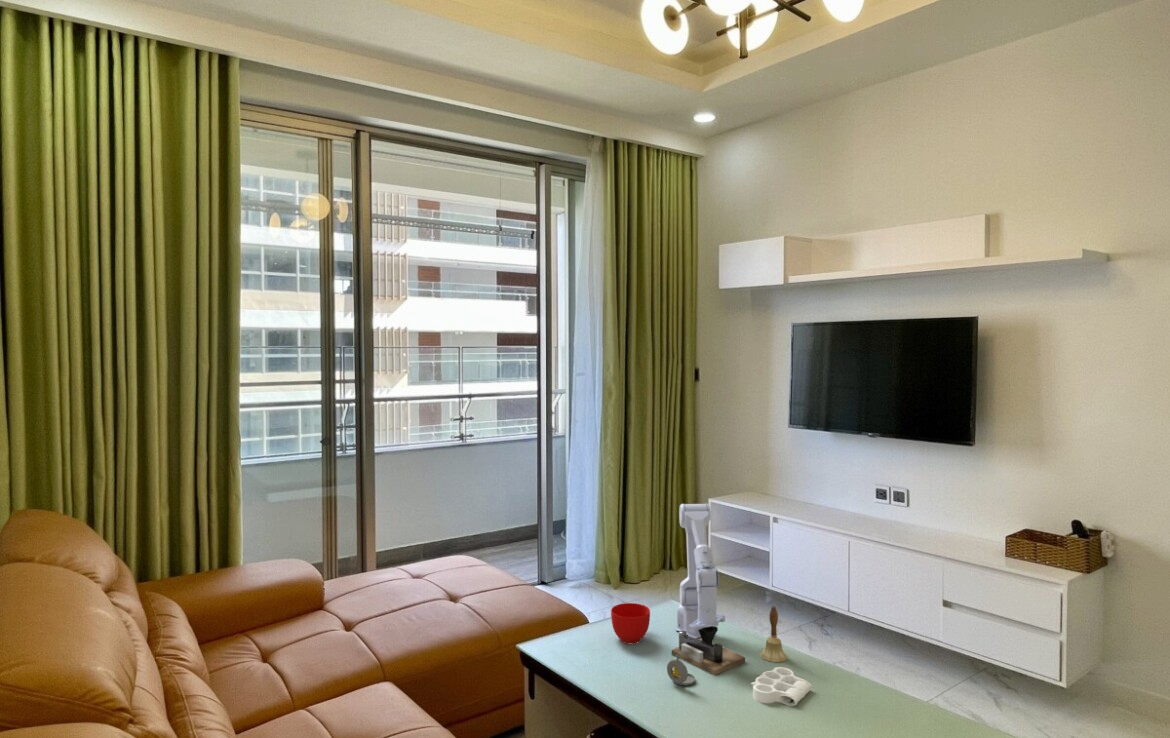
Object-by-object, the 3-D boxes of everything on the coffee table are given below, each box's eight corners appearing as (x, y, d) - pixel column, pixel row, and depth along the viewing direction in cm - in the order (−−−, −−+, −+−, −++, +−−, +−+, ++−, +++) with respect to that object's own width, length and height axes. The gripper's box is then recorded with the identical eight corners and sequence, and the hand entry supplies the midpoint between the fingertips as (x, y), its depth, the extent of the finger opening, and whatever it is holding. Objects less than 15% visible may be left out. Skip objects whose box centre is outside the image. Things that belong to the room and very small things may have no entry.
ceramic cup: (662, 633, 241) (662, 604, 241) (638, 651, 227) (638, 620, 226) (628, 625, 248) (628, 596, 247) (603, 642, 234) (603, 612, 233)
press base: (671, 654, 224) (671, 640, 224) (702, 642, 233) (702, 629, 233) (714, 675, 210) (714, 660, 210) (745, 662, 219) (745, 647, 219)
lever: (677, 648, 224) (677, 632, 224) (681, 645, 226) (682, 629, 226) (719, 663, 214) (719, 646, 214) (724, 660, 216) (724, 643, 216)
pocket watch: (694, 676, 210) (694, 643, 209) (696, 690, 201) (696, 655, 201) (666, 675, 210) (666, 642, 210) (667, 689, 202) (667, 654, 202)
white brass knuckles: (790, 714, 189) (740, 697, 198) (816, 688, 203) (768, 673, 212) (790, 701, 189) (740, 685, 198) (816, 677, 203) (768, 662, 212)
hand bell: (790, 662, 218) (790, 611, 218) (763, 662, 218) (763, 611, 218) (783, 650, 227) (783, 601, 226) (757, 650, 227) (757, 601, 226)
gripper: (700, 615, 213) (700, 660, 214) (732, 604, 222) (732, 647, 222) (683, 608, 219) (683, 652, 219) (715, 598, 227) (715, 640, 228)
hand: (707, 649), depth 221 cm, fingers closed
